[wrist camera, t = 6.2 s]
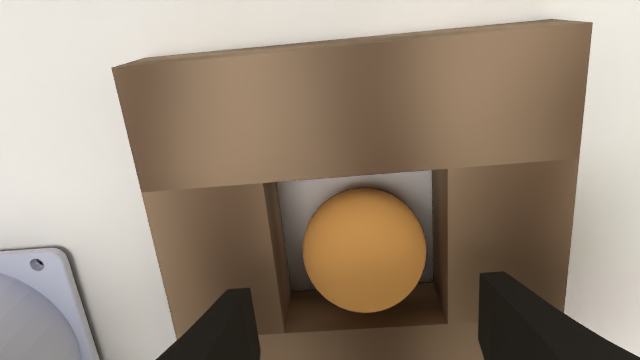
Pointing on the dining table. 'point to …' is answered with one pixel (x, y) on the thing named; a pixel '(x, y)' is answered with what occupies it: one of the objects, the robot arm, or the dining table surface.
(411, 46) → the brown square frame
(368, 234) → the ball
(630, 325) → the dining table surface
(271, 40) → the dining table surface
